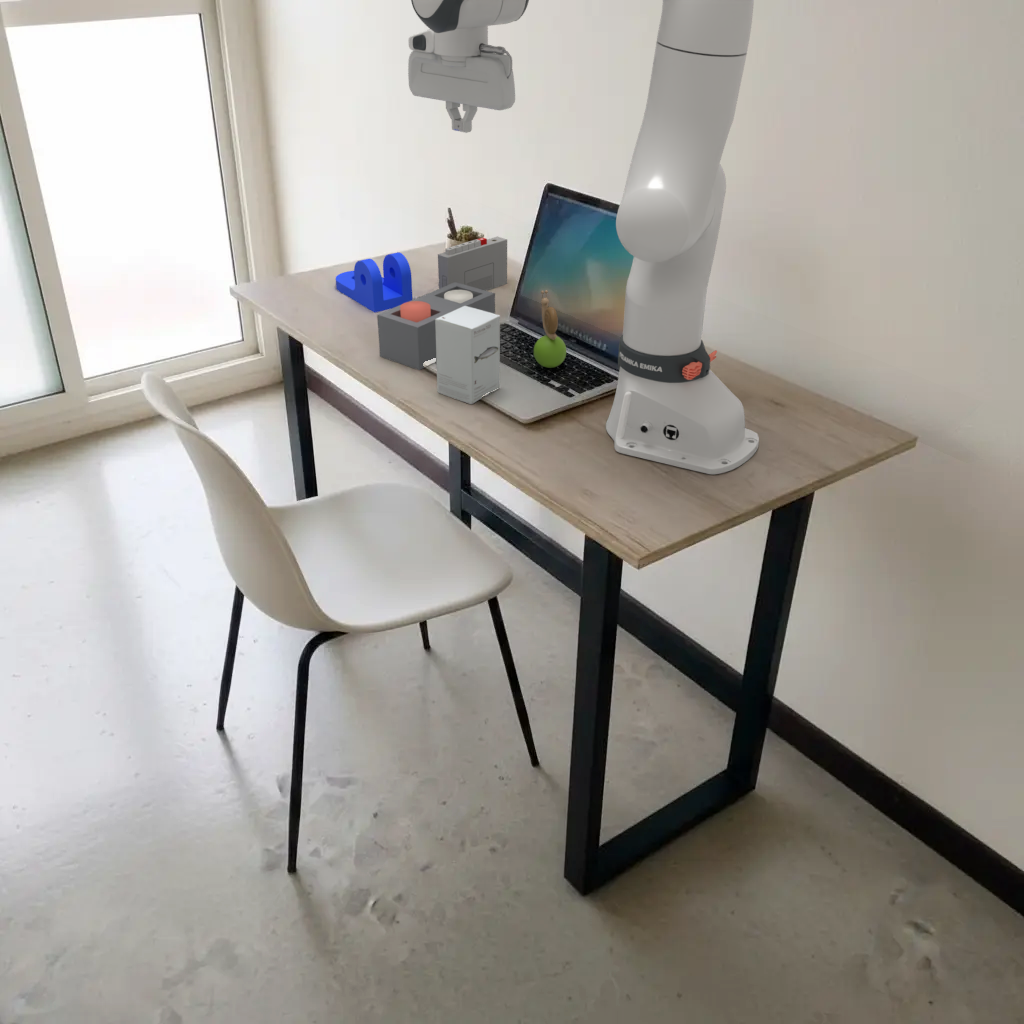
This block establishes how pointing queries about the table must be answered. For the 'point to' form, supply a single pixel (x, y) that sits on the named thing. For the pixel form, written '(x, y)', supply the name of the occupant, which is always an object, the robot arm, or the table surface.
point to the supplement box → (467, 353)
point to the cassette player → (475, 264)
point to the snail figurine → (549, 339)
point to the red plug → (415, 311)
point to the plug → (458, 295)
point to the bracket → (378, 283)
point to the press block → (423, 325)
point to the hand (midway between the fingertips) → (461, 131)
